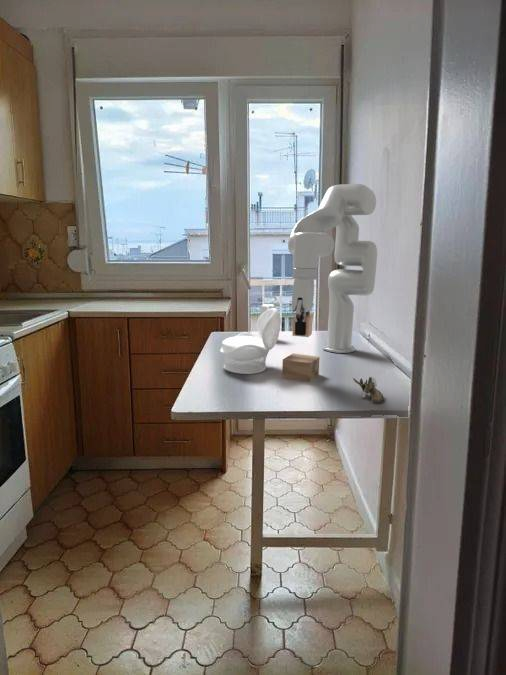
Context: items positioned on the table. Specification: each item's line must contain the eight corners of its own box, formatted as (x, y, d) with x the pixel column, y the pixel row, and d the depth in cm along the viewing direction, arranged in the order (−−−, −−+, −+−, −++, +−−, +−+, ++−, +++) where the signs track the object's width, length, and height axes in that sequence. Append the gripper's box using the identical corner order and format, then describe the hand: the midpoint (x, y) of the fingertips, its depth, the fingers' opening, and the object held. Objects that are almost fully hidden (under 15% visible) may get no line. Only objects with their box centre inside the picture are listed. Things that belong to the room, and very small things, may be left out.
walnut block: (292, 371, 147) (293, 353, 146) (318, 374, 143) (319, 356, 142) (282, 378, 139) (282, 359, 138) (309, 382, 135) (310, 363, 134)
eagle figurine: (345, 390, 124) (361, 395, 115) (358, 368, 125) (374, 371, 116) (366, 403, 126) (383, 409, 117) (379, 382, 127) (396, 386, 118)
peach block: (296, 332, 141) (297, 314, 140) (311, 334, 140) (312, 315, 138) (292, 335, 137) (293, 316, 135) (308, 337, 135) (309, 317, 134)
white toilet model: (220, 360, 158) (220, 304, 154) (275, 359, 160) (277, 304, 156) (220, 376, 139) (220, 313, 135) (283, 376, 141) (285, 313, 136)
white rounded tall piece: (275, 341, 190) (276, 306, 187) (259, 340, 190) (260, 306, 187) (274, 337, 197) (275, 304, 194) (259, 337, 197) (260, 303, 194)
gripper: (299, 272, 144) (296, 327, 147) (285, 275, 128) (283, 337, 131) (322, 273, 141) (319, 329, 145) (311, 276, 125) (308, 339, 129)
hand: (302, 332), depth 138 cm, fingers closed on peach block, 5 cm apart
